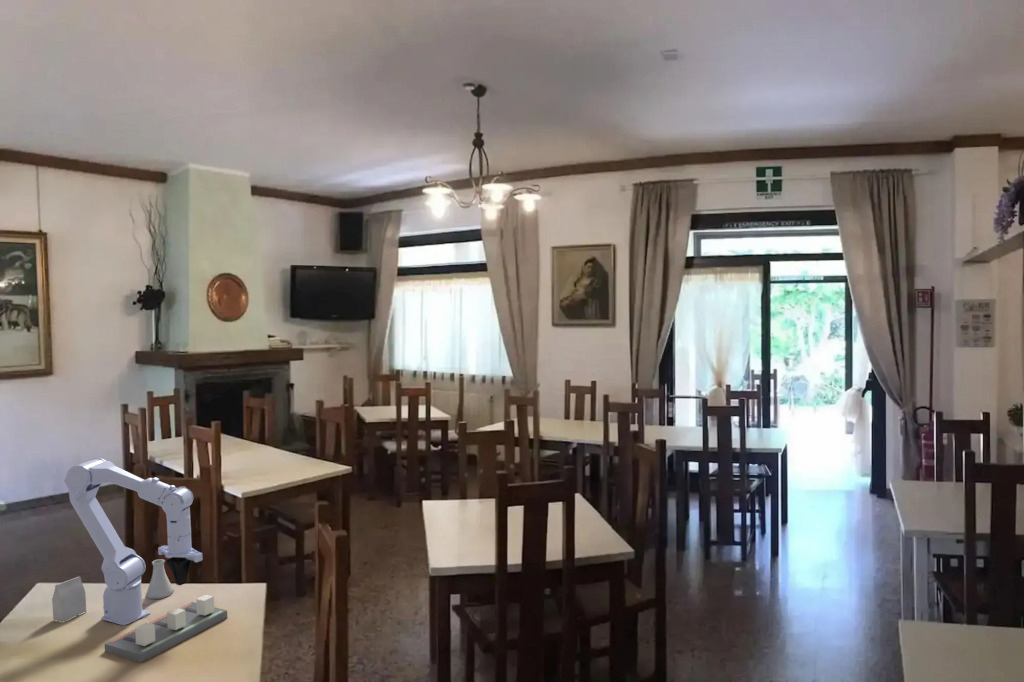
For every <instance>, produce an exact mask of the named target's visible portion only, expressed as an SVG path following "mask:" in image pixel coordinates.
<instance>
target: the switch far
mask: <svg viewBox="0 0 1024 682" xmlns="http://www.w3.org/2000/svg"><path fill="white" fill-rule="evenodd" d="M214 601H215V599H214V596H212V595H210V594H209V595H208V594H204V595H202V596H199V597H197V598H196V601H195V603H197V614H201V615H207V614H209V613H211V612H213V611H214V607H215V602H214Z"/></svg>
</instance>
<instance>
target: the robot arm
mask: <svg viewBox="0 0 1024 682" xmlns="http://www.w3.org/2000/svg"><path fill="white" fill-rule="evenodd" d="M63 482H64V483H65V486H66V487H67V489H68V496H69V502H70V504H71V505H72V507H73V509H74V511H75V512H76V514H77V516H78V517H79V519H80V521H81V522H82V525H83V526H84V527H85V529H86V531H87V532H88V534H89V536H90V538H91V539H92V541H93V542H94V544H95V546H96V548H97V549H98V551H99V552H100V554H101V556H102V557H103V561H102V564H101V567H100V569H101V572H102V573H103V576H104V582H105V585H106V588H105V589H104V591H103V595H102V598H103V599H102V600H103V601H102V602H103V616H101V617H100V619H101V620H102V621H106V622H110V623H114V624H118V625H121V626H126V625H128V624H131V623H133V622H135V621H137V620H139V619H141V618H144V617H147V616H148V615H150V614H151V613H150V612H151V611H148V610H145V609H143V597H142V596H143V595H142V594H143V593H142V592H143V591H142V576H143V575H144V573H145V572H146V569H147V568H146V562H145V560H144V559H143V558H142V557H141V556H140V555H138V554H137V553H136V551H135V550H134V549H133V548H130V547H127V546H125V544H124V543H123V541H122V539H121V538H120V536H119V534H118V533H117V531H116V529H115V528H114V525H112V522H111V520H110V519H109V518H108V516H107V514H106V512H105V511H104V509H103V507H102V505H101V504H100V502H99V501H98V499H97V498H96V496H97V494H98V491H99V488H100V487H101V486H102V484H105V483H111V484H113V485H116V486H119V487H122V488H126V489H128V490H131V491H135V492H137V495H138V497H139V498H140V499H141V500H145V501H147V502H149V503H150V504H151V503H152V504H154V505H156V506H158V507H161V510H163V512H164V513H165V516H166V517H165V518H166V532H167V545H161V546H159V547H157V549H158V550H157V551H158V553H157V555H159V556H163V555H164V556H165V558H167V559H166V560H165V563H166V565H167V566H168V567H169V569H170V571H171V573H172V575H173V578H174V581H175V583H176V586H182V585H185V584H186V583H187V581H188V576H189V571H190V569H191V566H192V565H193V562H194V563H199V562H202V561H203V552H200V551H198V550H196V549H194V548H193V547H192V525H191V507H190V506H191V505H192V504H193V501H194V494H193V492H192V491H191V490H190V489H189V488H187V487H186V486H179V487H176V486H175V485H173V484H172V485H170V484H168V483H165V482H163V481H160V478H158V477H148V478H147V479H144V478H142V477H139V476H137V475H136V474H133V473H131V472H129V471H126V470H124V469H123V468H121V467H119V466H116V465H115V464H114V463H113V462H112V461H109V460H105V459H104V458H101V457H94V458H92V459H90V460H88V461H85V462H82V463H80V464H76V465H73V466H71V467H70V468H69V469H68V470H67V472H66V475H65V477H64V480H63Z"/></svg>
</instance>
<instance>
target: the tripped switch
mask: <svg viewBox="0 0 1024 682" xmlns="http://www.w3.org/2000/svg"><path fill="white" fill-rule="evenodd" d="M134 630H135V633H136V644H139V645H142V646H146V645H148V644H150V643H152V642H154V641H155V625H153V624H150V623H149V622H145V623H142V624H140V625H138V626H136V627H135V629H134Z"/></svg>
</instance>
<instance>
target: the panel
mask: <svg viewBox="0 0 1024 682" xmlns="http://www.w3.org/2000/svg"><path fill="white" fill-rule="evenodd" d="M179 609H183V610H185V613H186V625H185V626H183V627H181V628H179V629H177V630H173V629H170V628H168V622H167V613H166V614H164V615H162V616H160V617H158V618H156V619H154V620H152V621H149V622H148V623H150V624H153V625H155V641H154V642H152V643H150V644H148V645H146V646H142V645H139V644H136V633H135V629H133V630H131V631H128V632H126V633H124V634H122V635H120V636H118V637H116V638H113V639H111V640H110V641H107V642H105V643H104V652H105V653H108V652H109V654H111V653H112V654H111V655H114V654H115V656H117V655H118V656H117V657H121V658H125V659H127V658H128V660H130V659H131V660H132V661H133V662H138V663H140V662H142V663H144V662H145V660H146V661H147V659H148V658H149V659H151V658H153V657H155V656H157V655H159V654H161V653H163V652H164V650H165V651H166V649H167V650H169V649H170V648H172V647H174V646H176V645H177V644H180V643H182V642H184V641H185V639H186V640H188V639H189V638H191V637H194V636H195V635H197V634H199V633H201V632H203V631H204V629H205V630H206V629H208V627H209V628H210V627H212V626H215V625H216V624H218V623H220V622H222V621H224V620H226V619H228V610H226V609H223V608H219V607H215V606H214V611H213V612H211V613H209V614H207V615H201V614H197V603H196V601H195V602H194V601H192V602H189V603H188V604H186V605H184V606H182V607H180V608H179ZM225 618H226V619H225ZM183 640H184V641H183ZM162 651H163V652H162ZM160 652H161V653H160ZM158 653H159V654H158ZM156 654H157V655H156ZM154 655H155V656H154ZM152 656H153V657H152ZM150 657H151V658H150ZM149 659H148V660H149ZM131 660H130V661H131ZM143 661H144V662H143Z"/></svg>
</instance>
